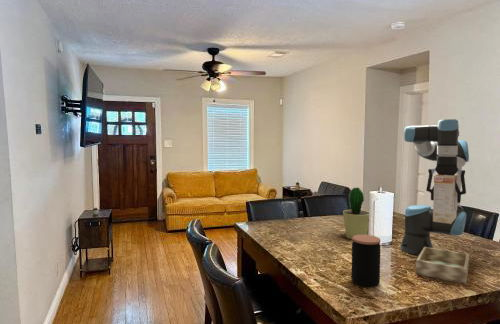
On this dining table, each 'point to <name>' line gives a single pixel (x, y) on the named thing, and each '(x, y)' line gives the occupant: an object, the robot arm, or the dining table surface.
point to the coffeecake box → (444, 198)
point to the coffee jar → (366, 260)
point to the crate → (443, 264)
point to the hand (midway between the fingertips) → (445, 208)
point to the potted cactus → (356, 215)
